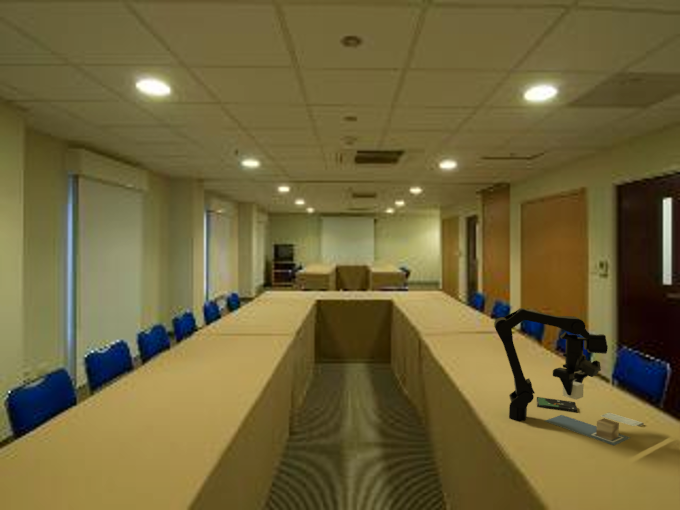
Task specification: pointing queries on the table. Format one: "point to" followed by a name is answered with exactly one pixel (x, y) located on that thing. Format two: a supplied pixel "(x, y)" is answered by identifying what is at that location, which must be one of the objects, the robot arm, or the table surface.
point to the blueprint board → (583, 429)
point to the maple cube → (607, 429)
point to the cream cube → (575, 391)
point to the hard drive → (622, 419)
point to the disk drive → (556, 404)
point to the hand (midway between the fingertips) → (573, 393)
